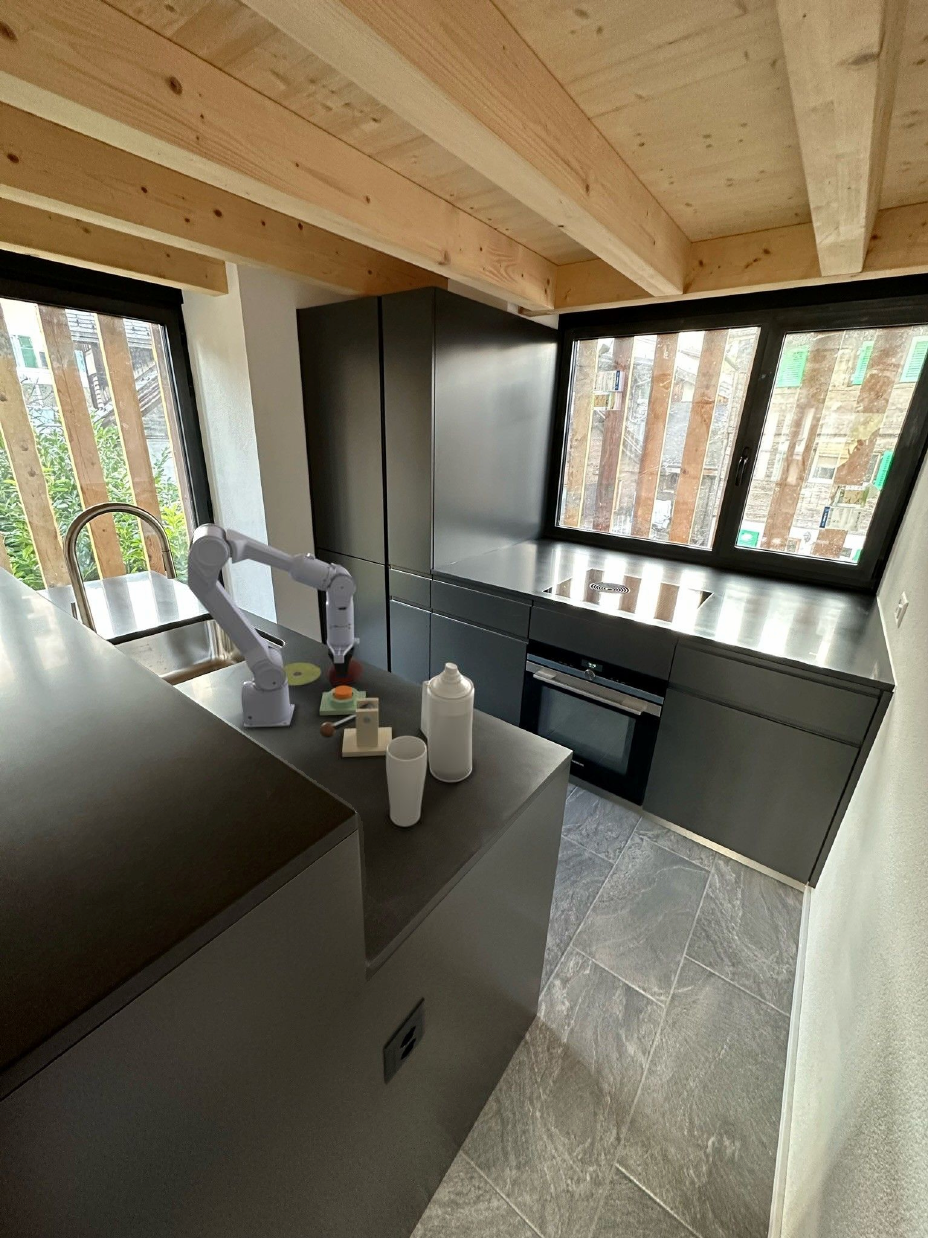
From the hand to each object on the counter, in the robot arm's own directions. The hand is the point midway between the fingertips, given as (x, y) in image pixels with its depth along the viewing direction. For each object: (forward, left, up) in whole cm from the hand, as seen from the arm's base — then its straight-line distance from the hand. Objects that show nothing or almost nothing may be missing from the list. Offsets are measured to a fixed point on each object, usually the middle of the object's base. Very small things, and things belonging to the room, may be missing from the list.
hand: (342, 675), depth 118 cm
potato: (0, +10, -8) cm, 13 cm away
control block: (0, 0, -8) cm, 8 cm away
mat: (-12, +12, -8) cm, 19 cm away
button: (0, 0, -5) cm, 5 cm away
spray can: (+22, -25, -8) cm, 34 cm away
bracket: (+6, -15, -8) cm, 18 cm away
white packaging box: (+22, -13, -8) cm, 27 cm away
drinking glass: (+13, -36, -8) cm, 39 cm away
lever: (+3, -15, -3) cm, 16 cm away
